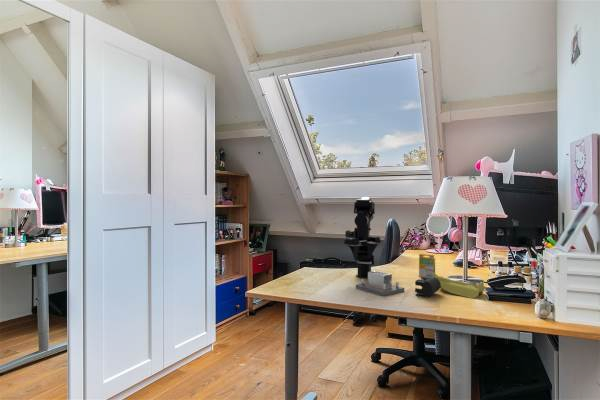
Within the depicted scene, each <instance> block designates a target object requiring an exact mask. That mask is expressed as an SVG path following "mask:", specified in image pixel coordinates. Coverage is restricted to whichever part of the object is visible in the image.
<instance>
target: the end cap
mask: <svg viewBox="0 0 600 400" xmlns="http://www.w3.org/2000/svg"><path fill="white" fill-rule="evenodd" d="M414 284H415V286H419V287H421V288H418V287H415V288H414V292H415V296H417V297H420V296H421V297H420V298H429V296H431V295H434V294H435V293H437V292H438V291H439V290H441V289H440V287H441V284H440V281H439V280H438V279H437V278H435V277H432V278H425V277H420V278H419V279H415V281H414Z"/></svg>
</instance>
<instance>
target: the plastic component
mask: <svg viewBox="0 0 600 400" xmlns="http://www.w3.org/2000/svg"><path fill="white" fill-rule="evenodd" d="M433 276H434V277H435V278H437V279H438V280H439V281H440V284H441V287H440V289H439V290H443V291H446V292H448V293H450V294H453V295H456V296H460V297H465V298H468V297H469V299H475V298H477V297H478V296H479V295H483V294H484V290H485V285H484V284H483V283H482V282H479V283H478V285H475V284H471V283H466V282H462V281H457V280H453V279H450V278H447V277H444V276H439V275H438V274H437V273H436V272H435V273H434V272H433Z"/></svg>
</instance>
